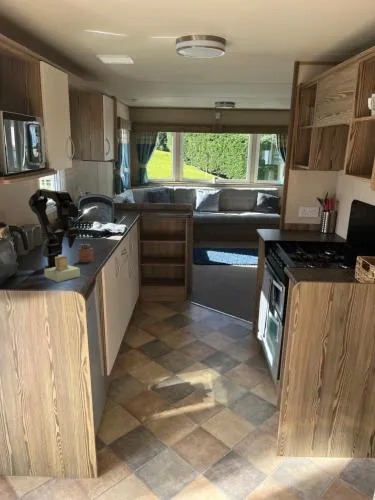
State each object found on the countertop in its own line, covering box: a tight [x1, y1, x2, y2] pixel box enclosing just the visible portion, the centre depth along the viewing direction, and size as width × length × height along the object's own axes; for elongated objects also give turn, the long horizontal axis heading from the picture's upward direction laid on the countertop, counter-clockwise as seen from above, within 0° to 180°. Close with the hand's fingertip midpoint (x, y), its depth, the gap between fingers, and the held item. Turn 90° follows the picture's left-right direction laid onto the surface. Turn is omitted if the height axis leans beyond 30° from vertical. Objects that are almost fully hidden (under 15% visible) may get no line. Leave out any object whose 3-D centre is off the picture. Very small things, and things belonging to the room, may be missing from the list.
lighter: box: [77, 243, 94, 263], centre depth 216 cm, size 8×3×10 cm, turn 92°
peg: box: [55, 255, 69, 271], centre depth 187 cm, size 4×4×10 cm
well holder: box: [44, 264, 81, 283], centre depth 187 cm, size 12×12×4 cm
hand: (65, 246), depth 194 cm, fingers open, 9 cm apart
